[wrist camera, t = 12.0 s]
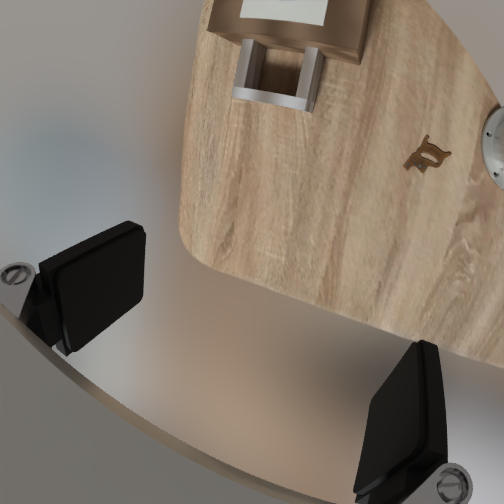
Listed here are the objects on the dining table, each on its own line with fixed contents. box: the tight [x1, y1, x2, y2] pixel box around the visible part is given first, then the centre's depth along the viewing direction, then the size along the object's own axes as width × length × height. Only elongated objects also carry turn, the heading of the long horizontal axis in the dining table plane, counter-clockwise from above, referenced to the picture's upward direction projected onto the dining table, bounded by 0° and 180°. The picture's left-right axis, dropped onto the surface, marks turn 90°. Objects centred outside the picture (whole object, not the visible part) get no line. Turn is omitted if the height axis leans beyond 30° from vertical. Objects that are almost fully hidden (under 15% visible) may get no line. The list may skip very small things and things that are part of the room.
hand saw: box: [403, 136, 451, 173], centre depth 40 cm, size 24×5×1 cm, turn 147°
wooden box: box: [207, 0, 372, 113], centre depth 31 cm, size 18×22×9 cm
